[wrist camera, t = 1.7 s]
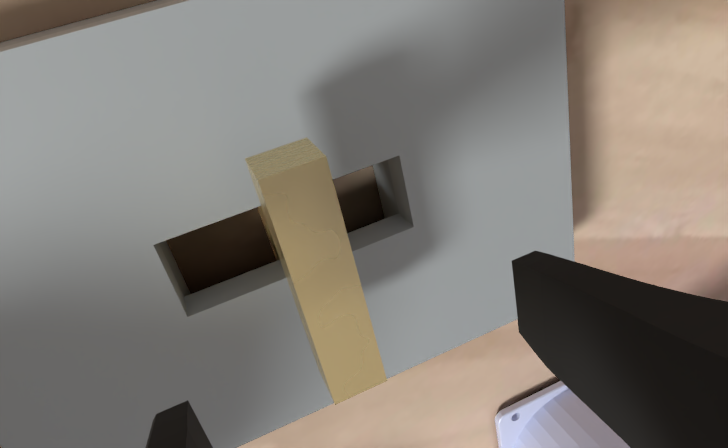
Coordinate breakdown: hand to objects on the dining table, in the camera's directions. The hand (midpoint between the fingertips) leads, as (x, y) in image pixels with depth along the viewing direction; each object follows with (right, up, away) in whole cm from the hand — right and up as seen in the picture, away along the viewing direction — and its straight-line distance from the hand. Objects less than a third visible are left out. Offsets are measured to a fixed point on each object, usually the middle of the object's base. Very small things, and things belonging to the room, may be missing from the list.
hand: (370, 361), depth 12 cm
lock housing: (-3, +4, +8) cm, 9 cm away
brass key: (-3, +4, +8) cm, 9 cm away
